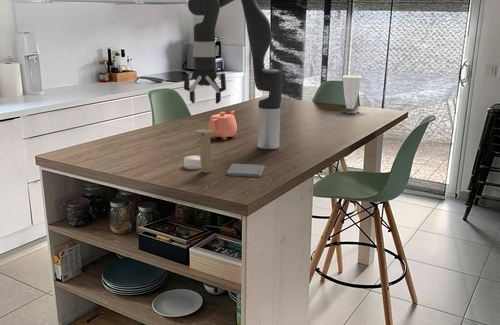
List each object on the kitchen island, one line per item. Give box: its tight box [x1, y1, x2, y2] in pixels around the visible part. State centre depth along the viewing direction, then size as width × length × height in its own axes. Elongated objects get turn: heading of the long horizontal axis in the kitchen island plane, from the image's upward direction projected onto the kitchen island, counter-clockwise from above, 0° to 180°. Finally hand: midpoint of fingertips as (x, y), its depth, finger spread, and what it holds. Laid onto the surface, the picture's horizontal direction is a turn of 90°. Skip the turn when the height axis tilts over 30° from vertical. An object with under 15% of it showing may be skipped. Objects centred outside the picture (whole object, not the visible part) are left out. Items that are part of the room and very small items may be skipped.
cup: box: [342, 74, 363, 110], centre depth 309 cm, size 12×12×22 cm
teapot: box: [207, 110, 238, 141], centre depth 239 cm, size 20×12×12 cm, turn 152°
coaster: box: [225, 163, 265, 178], centre depth 185 cm, size 12×12×1 cm
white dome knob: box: [183, 155, 202, 170], centre depth 191 cm, size 7×7×4 cm
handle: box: [195, 128, 215, 174], centre depth 182 cm, size 5×6×15 cm
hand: (205, 103), depth 178 cm, fingers open, 8 cm apart
